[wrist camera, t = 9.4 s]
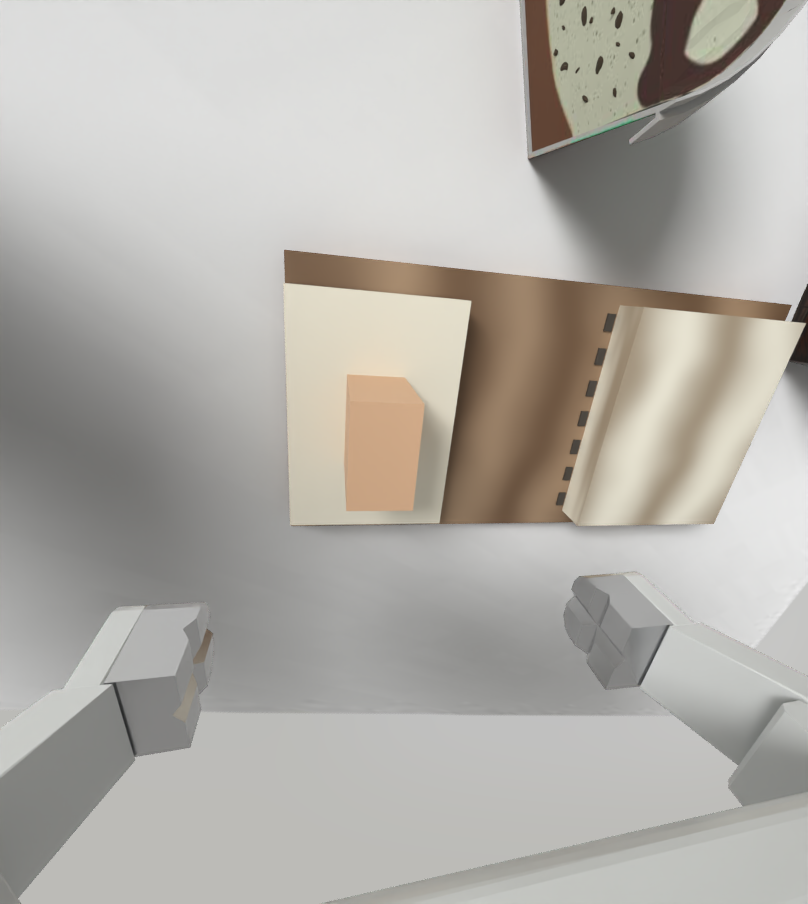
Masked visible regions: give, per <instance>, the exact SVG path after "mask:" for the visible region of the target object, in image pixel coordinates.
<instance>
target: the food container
mask: <svg viewBox="0 0 808 904" xmlns="http://www.w3.org/2000/svg"><path fill="white" fill-rule="evenodd" d="M807 1H808V0H520V18H521V37H522V56H523V75H524V94H525V113H526V132H527V151H528V159H530V158H533V157H536V156H539V155H542V154H545V153H549V152H551V151H554V150H557V149H560V148H562V147H565V146H568V145H571V144H573V143H576V142H579V141H582V140H585V139H587V138H590V137H593V136H596V135H598V134H601V133H604V132H607V131H609V130H612V129H615V128H618V127H620V126H623V125H626V124H629V123H632V122H634V121H637V120H640V119H643V118H645V117H648V116H651V115H654V114H656V116H655V118H654V119H653V120H652V121H650V122H649V123H648V124H647V125H646V126H645V127H643V128H642V129H641V130H640V131H639V132H638V133H636V134H635V135H634V136H633V137H632V138H631V139H629V143H630V145H631V144H634V143H637V142H640V141H643V140H646V139H649V138H652V137H655V136H657V135H659V134H660V133H662V132H664V131H666V130H668V129H670V128H672V127H674V126H676V125H678V124H679V123H681V122H682V121H683V120H685V119H686V118H688V117H689V116H690V115H692V114H693V113H694V112H696V111H697V110H699V109H700V108H701V107H703V106H704V105H705V104H706V103H708V102H709V101H710V100H712V99H713V98H714V97H715V96H717V95H718V94H719V93H721V92H722V91H723V90H724V89H726V88H727V87H728V86H730V85H731V84H732V83H733V82H735V81H736V80H737V79H738V78H739V77H740V76H741V75H742V74H743V73H744V72H745V71H746V70H748V69H749V68H750V67H751V66H752V65H753V64H754V63H755V62H756V61H757V60H758V59H759V58H760V57H761V56H762V55H763V54H764V52H765V51H766V50H767V49H768V48H769V46H770V45H771V44H772V43H773V42H774V41H775V40H776V39H777V38H778V37H779V36H780V34H781V33H782V32H783V31H784V30H785V28H786V27H787V26H788V25H789V24H790V22H791V21H792V20H793V19H794V17H795V16H796V15H797V14H798V13H799V11H800V10H801V9H802V8H803V6H804V5H805V4H806V2H807Z"/></svg>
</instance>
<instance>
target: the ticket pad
mask: <svg viewBox="0 0 808 904" xmlns="http://www.w3.org/2000/svg"><path fill="white" fill-rule="evenodd" d="M284 264H285V283H291V284H301V285H312V286H322V287H333V288H344V289H354V290H365V291H375V292H386V293H397V294H407V295H418V296H429V297H439V298H450V299H460V300H468V301H471V308H470V315H469V322H468V329H467V336H466V343H465V350H464V356H463V363H462V370H461V377H460V384H459V391H458V398H457V405H456V412H455V419H454V426H453V433H452V439H451V446H450V453H449V460H448V467H447V474H446V481H445V488H444V495H443V502H442V509H441V516H440V523H427V524H468V523H539V522H574V523H575V524H576V525H577V526H610V525H672V524H714V522H715V520H716V518H717V516H718V513H719V511H720V509H721V507H722V505H723V502H724V500H725V498H726V496H727V494H728V492H729V489H730V487H731V485H732V483H733V481H734V479H735V476H736V474H737V472H738V470H739V468H740V466H741V463H742V461H743V459H744V457H745V455H746V453H747V450H748V448H749V446H750V444H751V442H752V440H753V437H754V435H755V433H756V431H757V429H758V427H759V424H760V422H761V420H762V418H763V416H764V414H765V411H766V409H767V407H768V405H769V403H770V400H771V398H772V396H773V394H774V392H775V390H776V387H777V385H778V383H779V381H780V379H781V377H782V374H783V372H784V370H785V368H786V366H787V364H788V361H789V359H790V357H791V355H792V353H793V351H794V348H795V346H796V344H797V342H798V340H799V338H800V335H801V333H802V331H803V329H804V327H805V325H806V323H799V322H789V321H785V319H786V317H787V315H788V313H789V310H790V308H791V306H792V305H786V304H777V303H768V302H759V301H750V300H741V299H731V298H722V297H713V296H704V295H695V294H686V293H676V292H667V291H658V290H649V289H640V288H630V287H621V286H612V285H603V284H594V283H585V282H575V281H566V280H557V279H548V278H539V277H529V276H520V275H511V274H502V273H493V272H484V271H474V270H465V269H456V268H447V267H438V266H428V265H419V264H410V263H401V262H392V261H383V260H373V259H364V258H355V257H346V256H337V255H327V254H318V253H309V252H300V251H291V250H284ZM354 525H397V524H354ZM291 526H325V525H291Z"/></svg>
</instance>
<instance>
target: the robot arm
mask: <svg viewBox="0 0 808 904" xmlns="http://www.w3.org/2000/svg"><path fill="white" fill-rule="evenodd" d="M571 590H572V592H573V594H574V597H573V598H572V599H571V600H570V601H569V602H568V603H567V604H566V607H565V611H564V623H565V628H566V631H567V633H568V636H569V637H570V639H571V640H572V642H573V643H574V645H575V646H577V647H578V648H580V649H581V650H583V651H584V652H586V653H587V664H588V665H589V667H590V668H591V669H592V671H593V672H594V674H595V675H596V677H597V678H598V680H599V681H600V682H601V684H602V685H603V687H604V688H605V690H608V689H618V688H627V687H637V686H640V689H641V690H642V691H643V692H645V693H646V694H647V695H649V696H650V697H651V698H652V699H654V700H655V701H656V702H658V703H659V704H660V705H661V706H663V707H664V708H665V709H667V710H668V711H669V712H670V713H672V714H673V715H674V716H676V717H677V718H678V719H679V720H681V721H682V722H683V723H684V724H686V725H687V726H688V727H690V728H691V729H692V730H694V731H695V732H696V733H697V734H699V735H700V736H701V737H702V738H704V739H705V740H706V741H708V742H709V743H710V744H711V745H713V746H714V747H715V748H716V749H718V750H719V751H720V752H722V753H723V754H724V755H726V756H727V757H728V758H729V759H731V760H732V761H733V762H734V763H736V764H737V765H738V767H737V769H736V770H735V771H734V773H733V774H732V775H731V777H730V778H729V780H728V783H729V784H728V786H729V789H730V790H731V792H732V793H733V794H734V796H735V797H736V798H737V799H738V801H739V802H740V803H741V804H742V806H743V807H738V808H734V809H730V810H725V811H721V812H717V813H712V814H708V815H704V816H699V817H695V818H690V819H686V820H682V821H678V822H673V823H669V824H664V825H660V826H656V827H652V828H647V829H643V830H639V831H634V832H630V833H626V834H621V835H617V836H612V837H608V838H603V839H599V840H595V841H590V842H586V843H582V844H578V845H573V846H569V847H564V848H560V849H556V850H551V851H547V852H543V853H538V854H534V855H530V856H525V857H521V858H516V859H512V860H508V861H504V862H499V863H495V864H490V865H486V866H482V867H477V868H473V869H469V870H464V871H460V872H456V873H451V874H447V875H443V876H438V877H434V878H429V879H425V880H421V881H416V882H413V883H408V884H403V885H399V886H395V887H391V888H386V889H382V890H377V891H374V892H369V893H364V894H360V895H356V896H351V897H347V898H343V899H338V900H334V901H330V902H325V903H321V904H808V676H807V675H805V674H803V673H801V672H799V671H797V670H795V669H793V668H791V667H789V666H787V665H785V664H783V663H781V662H779V661H777V660H775V659H773V658H771V657H769V656H767V655H765V654H763V653H761V652H759V651H757V650H755V649H753V648H751V647H749V646H747V645H745V644H743V643H741V642H739V641H737V640H735V639H733V638H731V637H729V636H727V635H725V634H723V633H721V632H718V631H716V630H714V629H712V628H710V627H708V626H706V625H704V624H702V623H694V622H693V621H692V620H691V619H690V618H689V617H688V616H687V615H686V614H685V613H684V612H682V611H681V610H680V609H679V608H678V607H677V606H676V605H675V604H674V603H673V602H672V601H671V600H669V599H668V598H667V597H666V596H665V595H664V594H663V593H662V592H661V591H660V590H659V589H658V588H656V587H655V586H654V585H653V584H652V583H651V582H650V581H649V580H648V579H647V578H646V577H645V576H643V575H642V574H639V573H637V572H625V573H616V574H602V575H590V576H579V577H578V578H577V579H576V580H575V581H574V583H573V586H572V589H571ZM209 619H210V612H209V607H208V604H207V603H205V602H196V603H174V604H152V605H146V606H120V607H118V608H117V609H115V610H114V611H113V612H112V613H111V614H110V615H109V617H108V618H107V620H106V621H105V623H104V625H103V626H102V628H101V629H100V631H99V633H98V634H97V636H96V637H95V639H94V640H93V642H92V644H91V645H90V647H89V648H88V650H87V652H86V653H85V655H84V656H83V658H82V659H81V661H80V663H79V664H78V666H77V667H76V669H75V670H74V672H73V674H72V675H71V677H70V678H69V680H68V682H67V683H66V685H65V686H64V688H63V689H58V690H52V691H50V692H49V693H48V694H46V695H45V696H44V697H42V698H41V699H39V700H38V701H37V702H35V703H34V704H33V705H31V706H30V707H29V708H27V709H26V710H24V711H23V712H22V713H20V714H19V715H18V716H16V717H15V718H14V719H12V720H11V721H9V722H8V723H7V724H5V725H4V726H3V727H1V728H0V904H21V903H20V901H19V900H18V898H19V897H20V895H21V894H22V893H23V892H24V891H25V889H26V888H27V887H28V886H29V885H30V884H31V882H32V881H33V880H34V879H35V878H36V876H37V875H38V874H39V873H40V872H41V871H42V869H43V868H44V867H45V866H46V865H47V863H48V862H49V861H50V860H51V859H52V858H53V856H54V855H55V854H56V853H57V852H58V851H59V849H60V848H61V847H62V846H63V845H64V843H65V842H66V841H67V840H68V839H69V838H70V836H71V835H72V834H73V833H74V832H75V831H76V829H77V828H78V827H79V826H80V825H81V824H82V822H83V821H84V820H85V819H86V818H87V816H88V815H89V814H90V813H91V812H92V811H93V809H94V808H95V807H96V806H97V805H98V803H99V802H100V801H101V800H102V799H103V798H104V796H105V795H106V794H107V793H108V792H109V791H110V789H111V788H112V787H113V786H114V784H115V783H116V782H117V781H118V780H119V779H120V777H121V776H122V775H123V774H124V773H125V772H126V770H127V769H128V768H129V767H130V766H131V765H132V763H133V762H134V761H135V757H137V756H143V755H149V754H154V753H161V752H167V751H173V750H179V749H184V748H190V746H191V743H192V739H193V736H194V732H195V729H196V725H197V722H198V718H199V715H200V711H201V705H200V699H199V694H200V693H201V692H202V691H203V690H204V689H205V688H206V687H207V686H208V683H209V679H210V675H211V671H212V664H213V657H214V640H213V633H211V632H210V631H209V630H208V629H207V625H208V622H209Z"/></svg>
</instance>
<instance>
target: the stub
mask: <svg viewBox="0 0 808 904" xmlns="http://www.w3.org/2000/svg"><path fill="white" fill-rule="evenodd" d="M283 289H284V326H285V362H286V398H287V434H288V471H289V507H290V525H354V524H427V523H440V516H441V509H442V502H443V495H444V488H445V481H446V474H447V467H448V460H449V453H450V446H451V439H452V433H453V426H454V419H455V412H456V405H457V398H458V391H459V384H460V377H461V370H462V363H463V356H464V350H465V343H466V336H467V329H468V322H469V315H470V308H471V301H468V300H460V299H450V298H439V297H429V296H418V295H407V294H397V293H386V292H375V291H365V290H354V289H344V288H333V287H322V286H312V285H301V284H291V283H283Z"/></svg>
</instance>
